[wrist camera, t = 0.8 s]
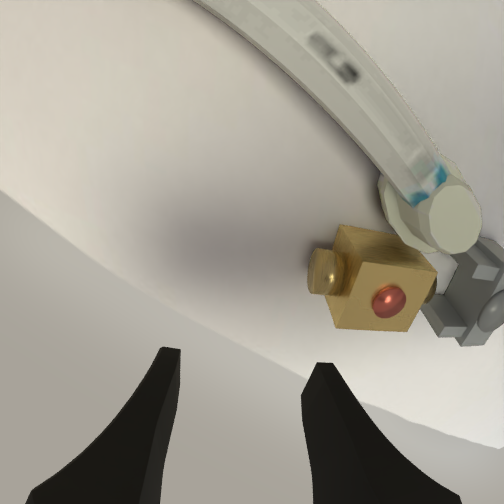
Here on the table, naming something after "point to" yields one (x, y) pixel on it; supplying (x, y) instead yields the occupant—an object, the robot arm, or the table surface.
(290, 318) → the table surface
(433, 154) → the toothbrush head
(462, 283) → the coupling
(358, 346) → the table surface
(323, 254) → the valve
